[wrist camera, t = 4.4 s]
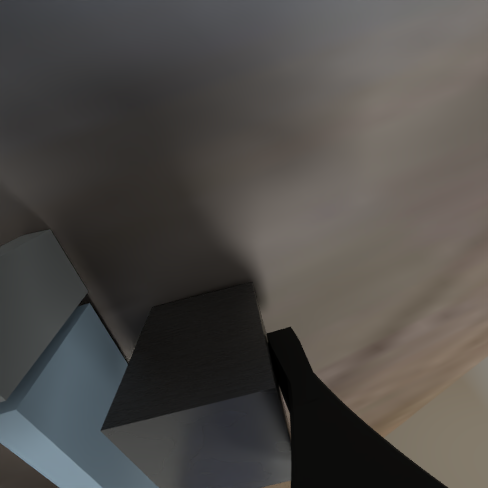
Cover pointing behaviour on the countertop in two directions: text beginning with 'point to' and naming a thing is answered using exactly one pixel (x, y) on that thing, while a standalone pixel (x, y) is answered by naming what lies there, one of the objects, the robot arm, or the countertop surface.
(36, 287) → the grey long flat piece
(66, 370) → the pale blue stick
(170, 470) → the block
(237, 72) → the countertop surface
